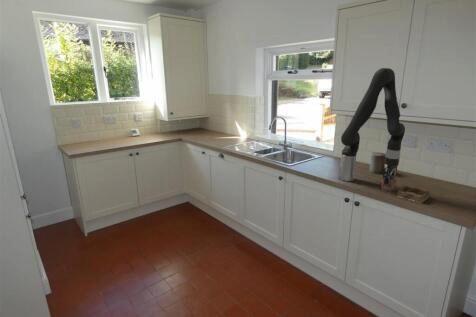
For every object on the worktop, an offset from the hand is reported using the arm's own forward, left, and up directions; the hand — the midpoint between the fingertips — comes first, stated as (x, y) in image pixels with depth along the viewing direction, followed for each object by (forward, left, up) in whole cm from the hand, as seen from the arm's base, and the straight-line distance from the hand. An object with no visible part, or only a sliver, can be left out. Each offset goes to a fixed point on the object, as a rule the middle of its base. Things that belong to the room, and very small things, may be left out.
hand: (388, 182), depth 175 cm
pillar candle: (-20, +31, -5) cm, 37 cm away
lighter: (0, 0, -5) cm, 5 cm away
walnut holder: (+14, 0, -5) cm, 15 cm away
